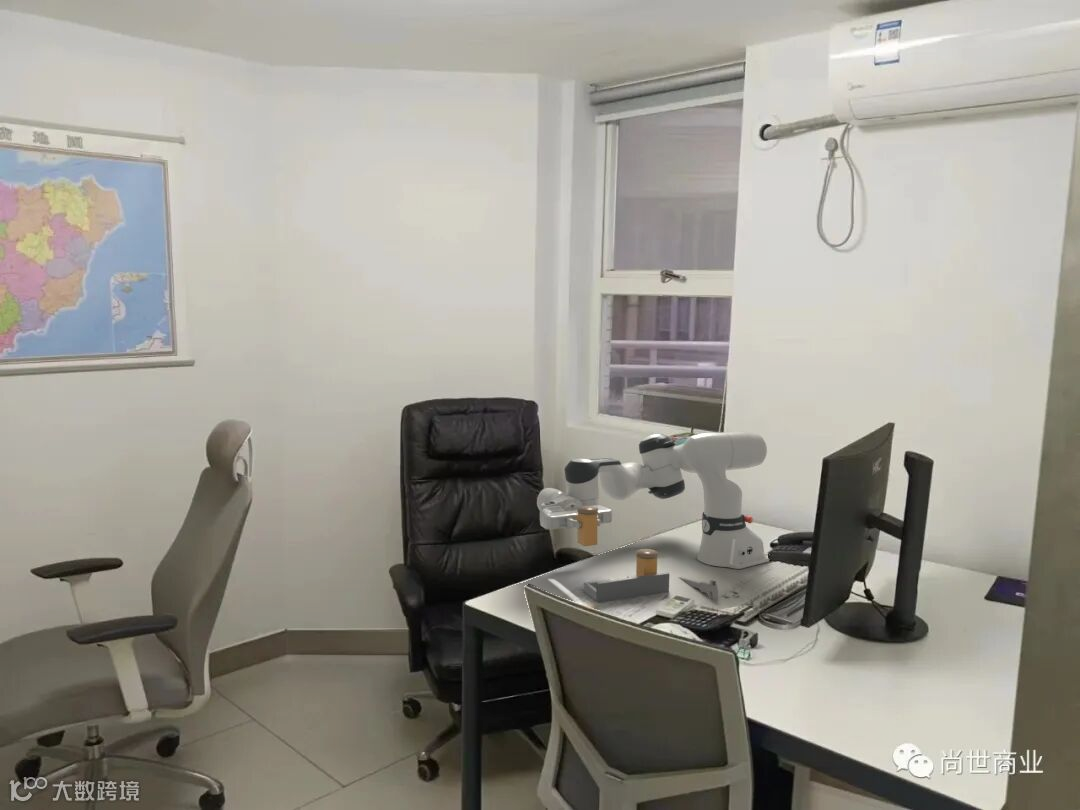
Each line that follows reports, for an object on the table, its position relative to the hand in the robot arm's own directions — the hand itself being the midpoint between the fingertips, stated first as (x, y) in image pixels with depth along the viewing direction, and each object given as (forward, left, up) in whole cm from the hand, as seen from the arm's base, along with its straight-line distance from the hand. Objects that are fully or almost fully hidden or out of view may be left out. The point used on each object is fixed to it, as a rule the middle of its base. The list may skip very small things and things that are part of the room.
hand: (589, 524), depth 218 cm
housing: (-6, +9, -18) cm, 21 cm away
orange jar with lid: (-13, +9, -16) cm, 23 cm away
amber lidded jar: (0, -1, -6) cm, 6 cm away
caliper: (-25, +14, -18) cm, 34 cm away
